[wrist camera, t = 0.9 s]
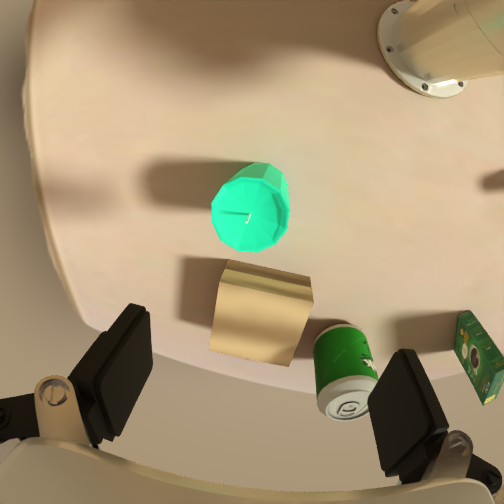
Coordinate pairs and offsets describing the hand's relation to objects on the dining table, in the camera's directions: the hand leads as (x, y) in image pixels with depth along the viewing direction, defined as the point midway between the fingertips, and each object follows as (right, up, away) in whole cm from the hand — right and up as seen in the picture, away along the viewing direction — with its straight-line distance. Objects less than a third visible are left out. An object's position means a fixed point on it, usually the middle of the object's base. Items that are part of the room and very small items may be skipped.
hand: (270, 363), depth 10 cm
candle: (0, +11, +21) cm, 24 cm away
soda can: (+11, -8, +28) cm, 32 cm away
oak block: (0, -3, +25) cm, 25 cm away
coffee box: (+33, -9, +26) cm, 43 cm away
